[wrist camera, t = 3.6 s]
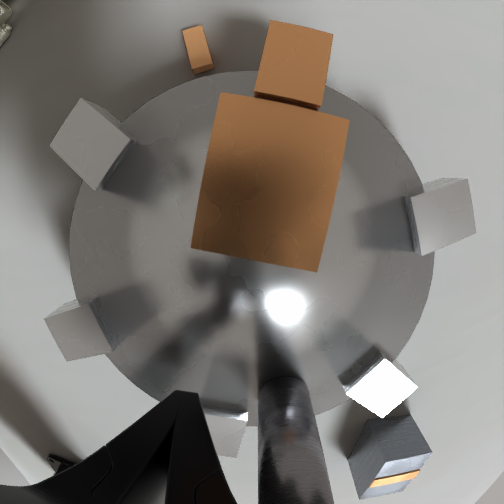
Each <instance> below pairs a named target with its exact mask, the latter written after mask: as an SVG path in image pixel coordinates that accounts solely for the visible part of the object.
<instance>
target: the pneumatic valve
mask: <svg viewBox="0 0 504 504" xmlns="http://www.w3.org/2000/svg"><path fill="white" fill-rule="evenodd" d="M11 15H12V9H11V8H10V7H9V6H8V5H7V4H5V3H4V2H2V1H1V0H0V47H1V46H2V44H3V43H4V42H5V40H6V39H7V38H8V36H9V35H10V34H11V32H10V31H11V29H12V27H11V26H10V25H9V24H6V25H5V24H4V23H5V22H6V21H7V20H8V18H9V17H10V16H11Z"/></svg>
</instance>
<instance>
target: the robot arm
mask: <svg viewBox="0 0 504 504" xmlns="http://www.w3.org/2000/svg"><path fill="white" fill-rule="evenodd" d="M47 459H48V461H49V463H50V464H51V466H52V468H53V469H54V471H55V473H54V475H53V476H52V477H50V478H48V479H46V480H44V481H42V482H39V483H37V484H34V485H30V486H21V487H20V486H19V487H18V486H6V485H0V504H237V502H236V500H235V499H234V497H233V495H232V493H231V491H230V488H229V486H228V484H227V481H226V479H225V476H224V473H223V470H222V468H221V465H220V462H219V459H218V456H217V453H216V450H215V447H214V444H213V440H212V437H211V434H210V431H209V428H208V424H207V421H206V418H205V414H204V411H203V407H202V404H201V400H200V397H199V394H198V393H196V392H189V391H182V390H175V391H173V392H172V393H171V394H170V395H169V396H167V397H166V398H165V399H164V400H162V401H161V402H160V403H159V404H157V405H156V406H155V407H154V408H152V409H151V410H150V411H149V412H147V413H146V414H145V415H144V416H142V417H141V418H140V419H138V420H137V421H136V422H135V423H133V424H132V425H131V426H129V427H128V428H127V429H126V430H124V431H123V432H122V433H120V434H119V435H118V436H116V437H115V438H114V439H112V440H111V441H110V442H108V443H107V444H106V446H103V447H101V448H100V449H99V450H97V451H96V452H94V453H93V454H92V455H90V456H89V457H87V458H86V459H84V460H82V461H81V462H79V463H77V464H75V465H74V464H72V463H69V462H67V461H65V460H62V459H60V458H58V457H56V456H53V455H51V454H49V455H48V457H47Z"/></svg>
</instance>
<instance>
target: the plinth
mask: <svg viewBox="0 0 504 504" xmlns="http://www.w3.org/2000/svg"><path fill="white" fill-rule="evenodd" d="M183 35H184V39H185V44H186V48H187V52H188V56H189V60H190V64H191V68H192V70H193V72H194V74H197V73H200V72H204V71H207V70H211V69H214V66H213V63H212V59H211V55H210V52H209V48H208V44H207V41H206V37H205V33H204V30H203V27H202V25H200V26H196V27H193V28H189V29H186V30H183Z"/></svg>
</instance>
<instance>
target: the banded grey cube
mask: <svg viewBox="0 0 504 504" xmlns="http://www.w3.org/2000/svg"><path fill="white" fill-rule="evenodd" d="M431 453H432V451H431V449H430V447H429V445H428V444H427V442H426V440H425V438H424V437H423V435H422V433H421V431H420V430H419V428H418V426H417V425H416V423H415V421H414V419H413V418H412V416H411V415H405V416H397V417H389V418H379V419H368V421H367V423H366V425H365V427H364V429H363V431H362V433H361V435H360V437H359V439H358V441H357V443H356V445H355V447H354V449H353V451H352V453H351V455H350V457H349V459H348V463H349V466H350V469H351V473H352V476H353V480H354V483H355V487H356V490H357V494H358V497H359V499H365V498H371V497H376V496H381V495H386V494H391V493H395V492H400V491H403V490H404V488H405V487H406V486H407V485H408V484H409V482H410V481H411V480H412V479H413V478H415V477H416V475H417V474H418V473H419V472H420V468H421V467H422V466H423V464H424V463H425V462H426V460H427V459H428V458H429V456H430V455H431Z"/></svg>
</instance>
